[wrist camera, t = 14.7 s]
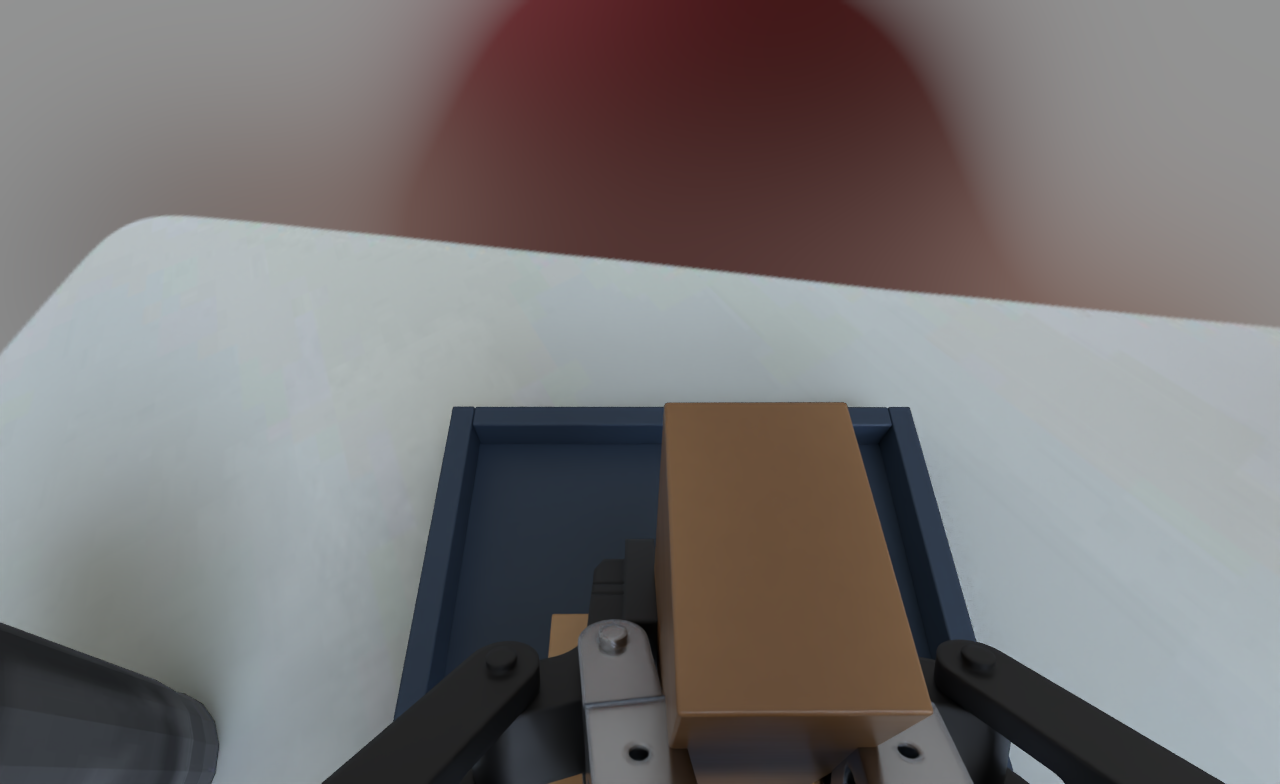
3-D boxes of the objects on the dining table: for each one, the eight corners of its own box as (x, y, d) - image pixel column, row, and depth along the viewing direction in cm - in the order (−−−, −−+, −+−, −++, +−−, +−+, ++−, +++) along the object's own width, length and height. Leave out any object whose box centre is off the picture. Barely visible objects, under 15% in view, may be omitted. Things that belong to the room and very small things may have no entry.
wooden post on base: (816, 645, 19) (1023, 373, 9) (853, 843, 16) (1236, 771, 6) (561, 646, 19) (477, 374, 9) (547, 846, 16) (391, 777, 6)
